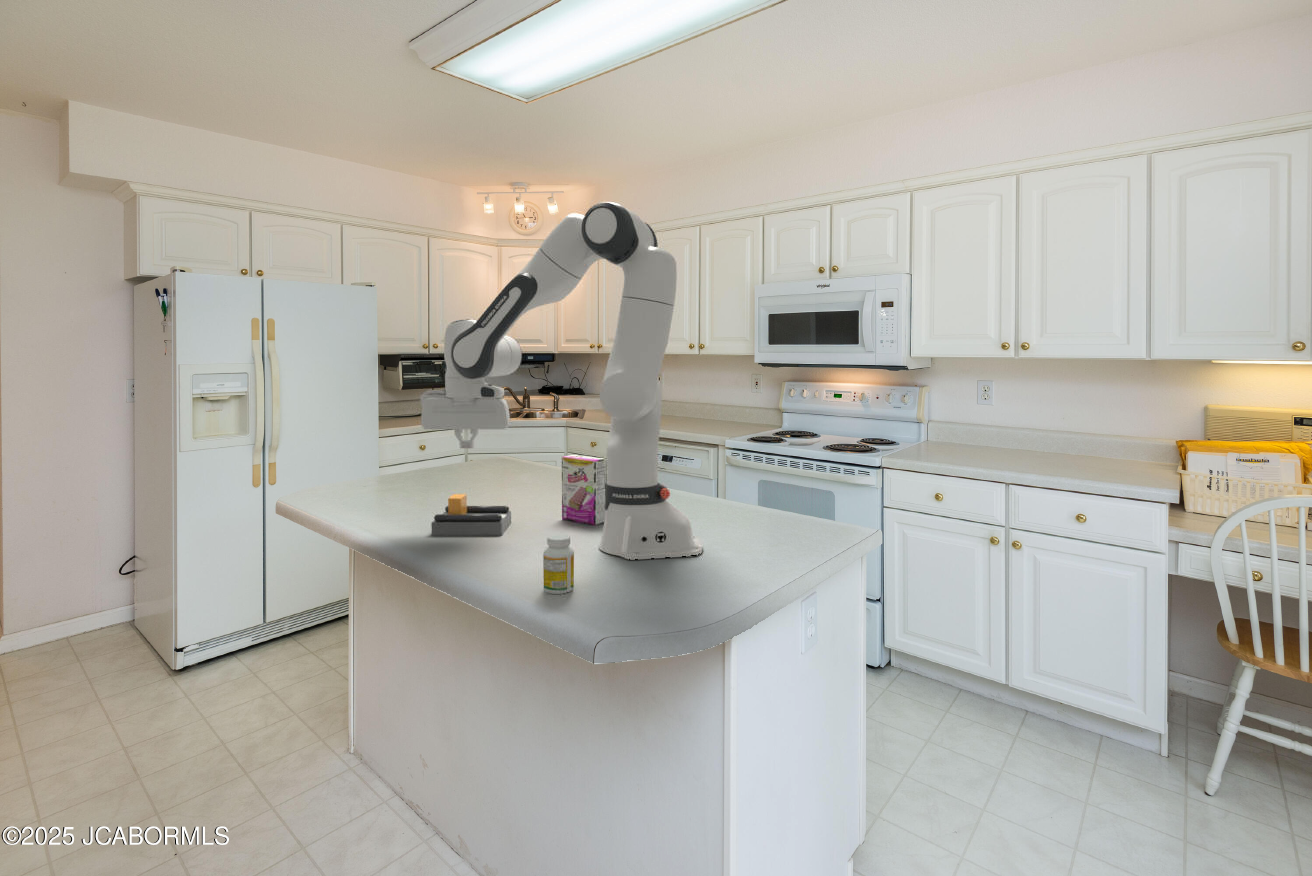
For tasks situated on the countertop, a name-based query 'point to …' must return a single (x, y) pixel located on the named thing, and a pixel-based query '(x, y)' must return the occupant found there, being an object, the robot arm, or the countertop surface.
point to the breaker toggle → (457, 504)
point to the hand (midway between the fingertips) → (466, 448)
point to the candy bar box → (583, 489)
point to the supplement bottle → (558, 565)
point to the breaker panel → (473, 521)
